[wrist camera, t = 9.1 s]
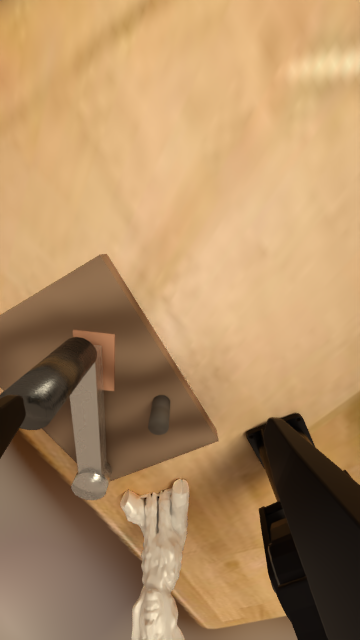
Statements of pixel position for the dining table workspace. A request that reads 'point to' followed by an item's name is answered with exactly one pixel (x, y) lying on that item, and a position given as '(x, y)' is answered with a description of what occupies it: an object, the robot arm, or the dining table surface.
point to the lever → (86, 407)
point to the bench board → (108, 367)
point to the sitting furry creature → (159, 558)
